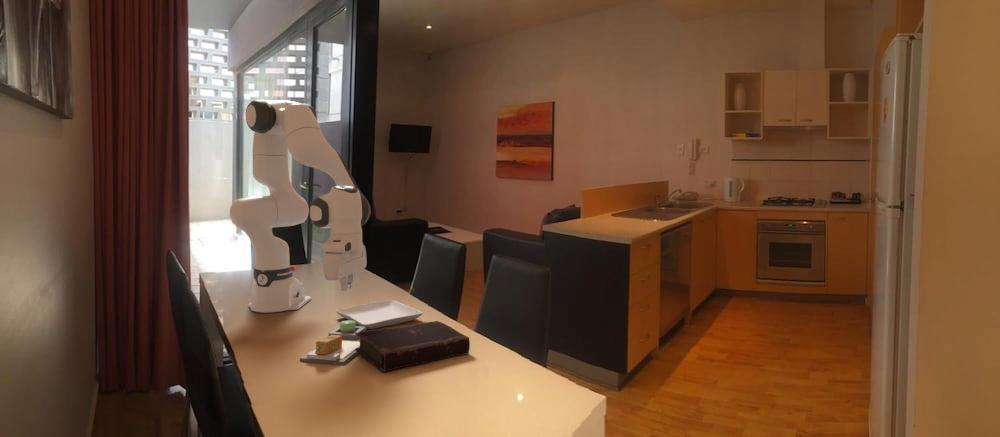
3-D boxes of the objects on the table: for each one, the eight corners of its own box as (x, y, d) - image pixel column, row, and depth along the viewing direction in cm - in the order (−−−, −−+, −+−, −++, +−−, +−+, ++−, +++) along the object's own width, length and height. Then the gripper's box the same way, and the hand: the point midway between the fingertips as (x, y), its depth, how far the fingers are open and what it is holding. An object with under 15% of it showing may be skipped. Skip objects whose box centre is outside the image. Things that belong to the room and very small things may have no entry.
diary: (470, 355, 146) (470, 337, 146) (384, 374, 131) (384, 354, 131) (434, 334, 161) (435, 318, 160) (353, 349, 146) (353, 331, 145)
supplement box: (343, 347, 148) (326, 355, 138) (330, 346, 148) (313, 354, 138) (343, 335, 148) (327, 342, 138) (331, 333, 148) (314, 341, 138)
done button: (344, 329, 162) (344, 319, 162) (358, 330, 161) (358, 320, 161) (337, 334, 158) (337, 324, 157) (351, 335, 157) (351, 325, 157)
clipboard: (330, 341, 155) (329, 334, 155) (369, 344, 153) (369, 337, 153) (299, 361, 139) (299, 353, 139) (343, 365, 137) (343, 357, 137)
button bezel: (341, 331, 164) (341, 325, 164) (366, 333, 163) (366, 326, 163) (328, 339, 156) (328, 333, 156) (354, 341, 155) (354, 335, 155)
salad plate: (364, 334, 162) (364, 323, 162) (334, 319, 178) (334, 308, 178) (424, 322, 176) (424, 311, 176) (391, 308, 192) (391, 299, 192)
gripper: (352, 236, 167) (352, 281, 169) (318, 246, 147) (319, 296, 149) (371, 237, 166) (372, 282, 168) (340, 247, 146) (341, 298, 148)
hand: (347, 289), depth 158 cm, fingers closed
